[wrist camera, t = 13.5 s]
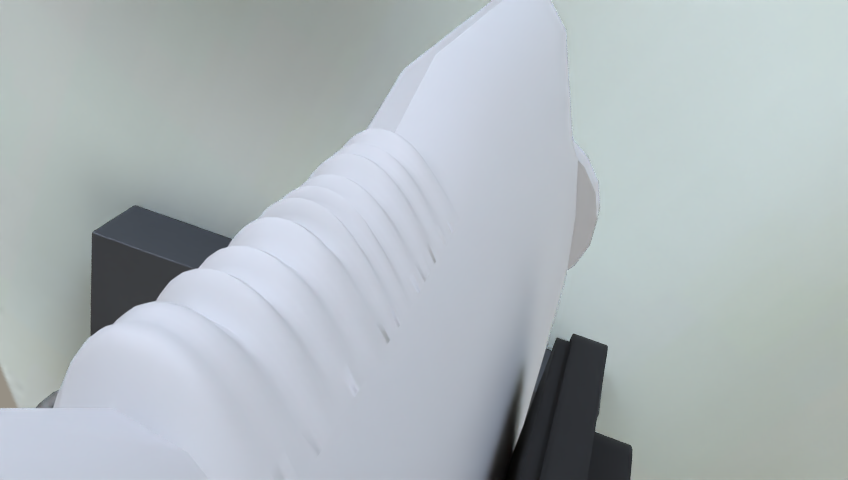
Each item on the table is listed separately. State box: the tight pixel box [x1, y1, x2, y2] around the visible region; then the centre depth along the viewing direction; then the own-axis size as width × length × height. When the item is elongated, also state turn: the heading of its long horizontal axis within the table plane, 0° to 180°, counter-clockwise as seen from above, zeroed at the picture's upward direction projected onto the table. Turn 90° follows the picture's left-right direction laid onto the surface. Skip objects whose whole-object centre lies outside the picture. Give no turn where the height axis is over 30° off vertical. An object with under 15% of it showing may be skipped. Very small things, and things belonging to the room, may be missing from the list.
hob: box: [91, 206, 602, 420], centre depth 30 cm, size 19×14×3 cm
